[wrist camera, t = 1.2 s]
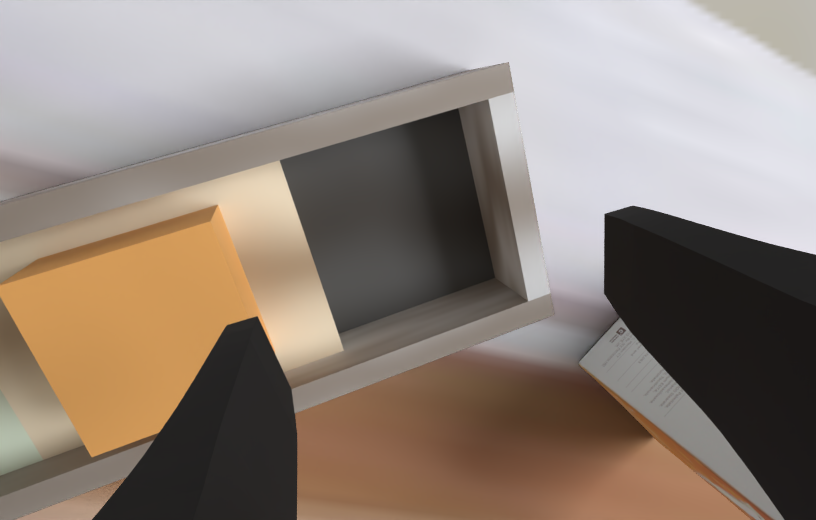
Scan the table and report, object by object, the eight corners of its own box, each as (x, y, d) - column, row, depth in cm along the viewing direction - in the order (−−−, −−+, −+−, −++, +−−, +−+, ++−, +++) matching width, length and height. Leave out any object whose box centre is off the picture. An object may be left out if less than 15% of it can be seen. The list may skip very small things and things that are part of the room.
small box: (573, 363, 27) (829, 569, 15) (658, 271, 27) (987, 405, 15) (654, 441, 30) (922, 667, 18) (731, 360, 30) (1054, 531, 18)
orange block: (274, 351, 20) (277, 389, 18) (116, 407, 19) (91, 457, 17) (218, 204, 18) (210, 221, 16) (37, 259, 17) (-6, 287, 15)
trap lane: (515, 288, 25) (554, 314, 21) (-397, 620, 19) (-536, 727, 15) (471, 69, 21) (508, 62, 18) (-655, 385, 15) (-901, 458, 12)
